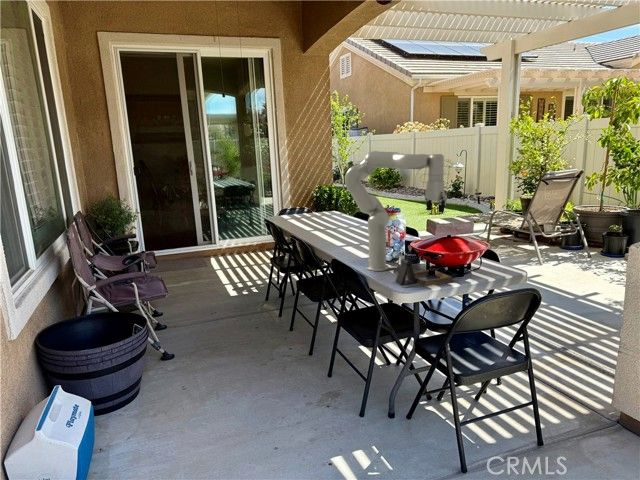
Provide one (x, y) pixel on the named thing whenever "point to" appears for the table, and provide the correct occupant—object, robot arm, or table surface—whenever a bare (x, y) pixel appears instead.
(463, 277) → the table surface
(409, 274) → the door stopper
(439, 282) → the pocket block
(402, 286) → the rubber mat
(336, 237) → the table surface
